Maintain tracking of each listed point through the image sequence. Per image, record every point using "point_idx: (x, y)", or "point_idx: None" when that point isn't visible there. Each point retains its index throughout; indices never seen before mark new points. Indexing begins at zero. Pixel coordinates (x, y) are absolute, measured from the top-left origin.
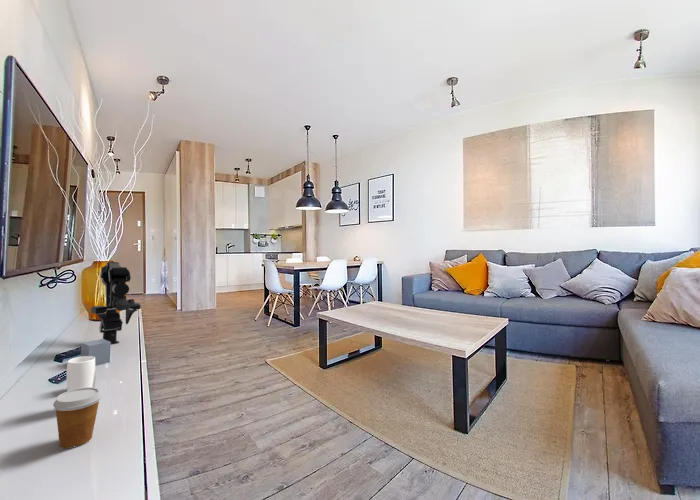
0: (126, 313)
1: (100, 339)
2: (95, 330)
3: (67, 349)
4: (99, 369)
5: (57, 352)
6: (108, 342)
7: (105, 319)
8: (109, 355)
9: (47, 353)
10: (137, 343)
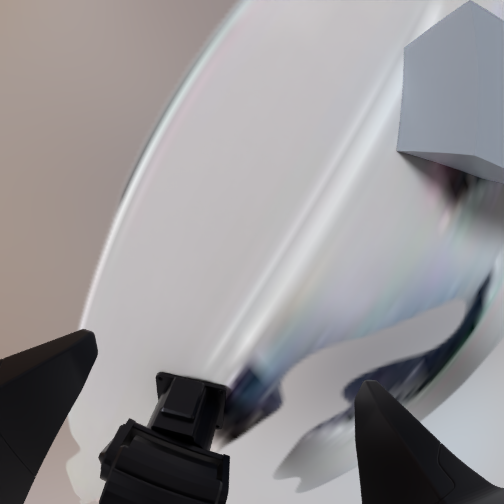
0: (24, 465)
1: (491, 156)
2: None
3: (346, 433)
4: None
5: None
6: (484, 8)
7: (429, 464)
8: (425, 36)
9: None
10: (100, 285)
